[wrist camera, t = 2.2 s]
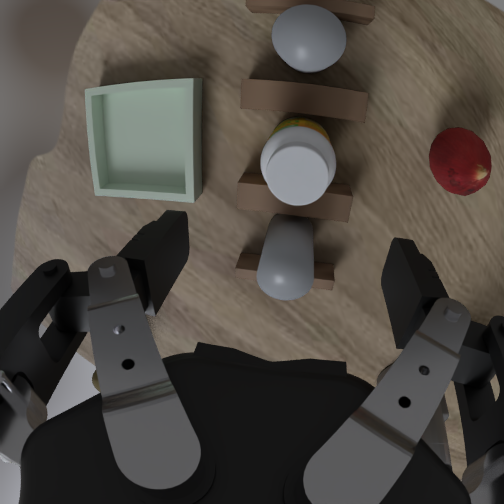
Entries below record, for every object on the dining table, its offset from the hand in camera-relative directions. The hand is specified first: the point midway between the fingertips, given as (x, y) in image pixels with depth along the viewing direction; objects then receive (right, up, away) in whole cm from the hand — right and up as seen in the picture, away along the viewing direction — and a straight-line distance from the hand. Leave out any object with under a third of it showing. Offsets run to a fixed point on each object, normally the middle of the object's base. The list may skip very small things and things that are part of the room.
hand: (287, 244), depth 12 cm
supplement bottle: (+3, +10, +15) cm, 18 cm away
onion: (+17, +9, +13) cm, 23 cm away
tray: (-12, +11, +17) cm, 23 cm away
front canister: (+3, +17, +10) cm, 20 cm away
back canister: (+3, +2, +20) cm, 20 cm away
